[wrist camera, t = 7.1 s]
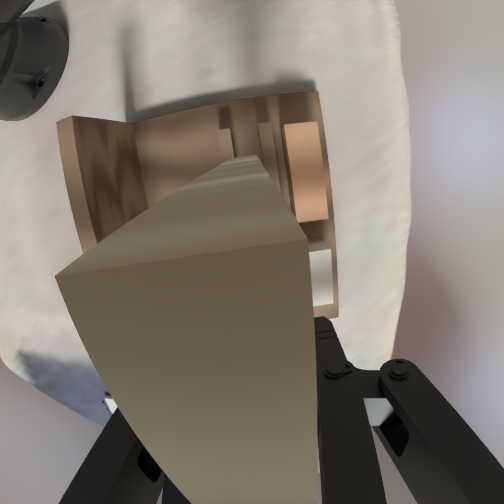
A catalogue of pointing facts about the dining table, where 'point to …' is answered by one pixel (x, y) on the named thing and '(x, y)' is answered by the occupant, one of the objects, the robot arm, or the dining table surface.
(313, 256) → the grey mdf offcut
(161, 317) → the birch sheet
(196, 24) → the dining table surface
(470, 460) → the robot arm
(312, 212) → the cherry offcut
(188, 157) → the walnut rack
